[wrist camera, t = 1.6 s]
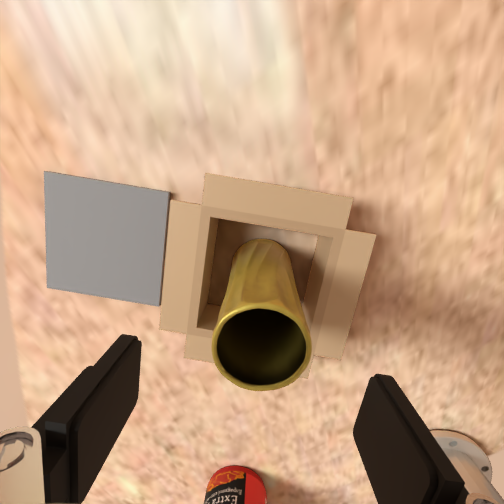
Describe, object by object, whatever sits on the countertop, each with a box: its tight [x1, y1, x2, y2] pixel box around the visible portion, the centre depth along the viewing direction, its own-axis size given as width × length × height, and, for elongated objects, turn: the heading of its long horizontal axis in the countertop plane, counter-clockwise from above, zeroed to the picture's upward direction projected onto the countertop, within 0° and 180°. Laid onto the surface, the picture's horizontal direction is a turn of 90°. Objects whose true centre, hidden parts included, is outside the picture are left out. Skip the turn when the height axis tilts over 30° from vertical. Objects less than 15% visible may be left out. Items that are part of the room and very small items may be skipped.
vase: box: [211, 239, 312, 391], centre depth 21 cm, size 6×6×14 cm
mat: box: [44, 171, 170, 306], centre depth 27 cm, size 12×12×1 cm
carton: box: [159, 173, 376, 379], centre depth 25 cm, size 17×17×5 cm
